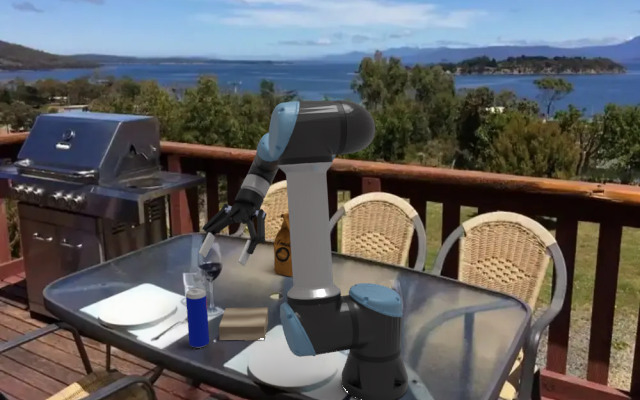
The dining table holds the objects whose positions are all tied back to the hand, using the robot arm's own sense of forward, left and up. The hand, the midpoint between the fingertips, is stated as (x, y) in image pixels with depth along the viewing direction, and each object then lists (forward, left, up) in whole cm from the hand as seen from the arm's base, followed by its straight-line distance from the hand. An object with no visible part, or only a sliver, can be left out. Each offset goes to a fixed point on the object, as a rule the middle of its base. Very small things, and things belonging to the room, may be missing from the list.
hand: (221, 259), depth 155 cm
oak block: (-2, -6, -20) cm, 21 cm away
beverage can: (-10, +5, -20) cm, 23 cm away
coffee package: (+44, -17, -20) cm, 51 cm away
